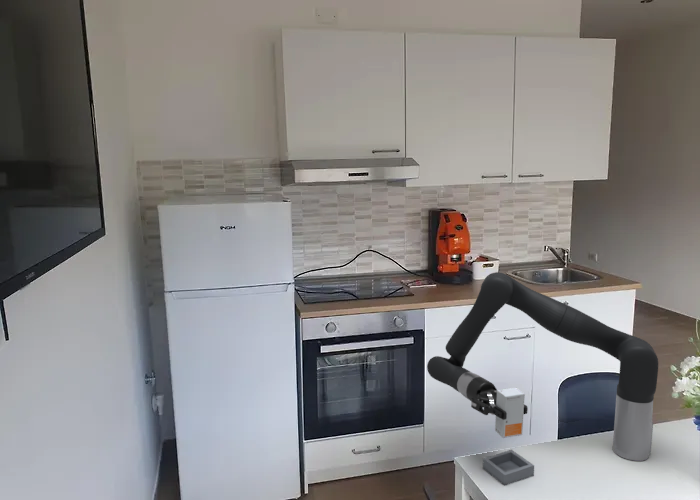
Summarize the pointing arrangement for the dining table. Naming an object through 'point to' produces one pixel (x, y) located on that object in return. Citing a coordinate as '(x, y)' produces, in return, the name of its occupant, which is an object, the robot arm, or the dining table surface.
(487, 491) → the dining table surface
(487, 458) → the gray tray
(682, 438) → the dining table surface
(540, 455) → the dining table surface
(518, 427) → the skincare box
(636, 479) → the dining table surface
